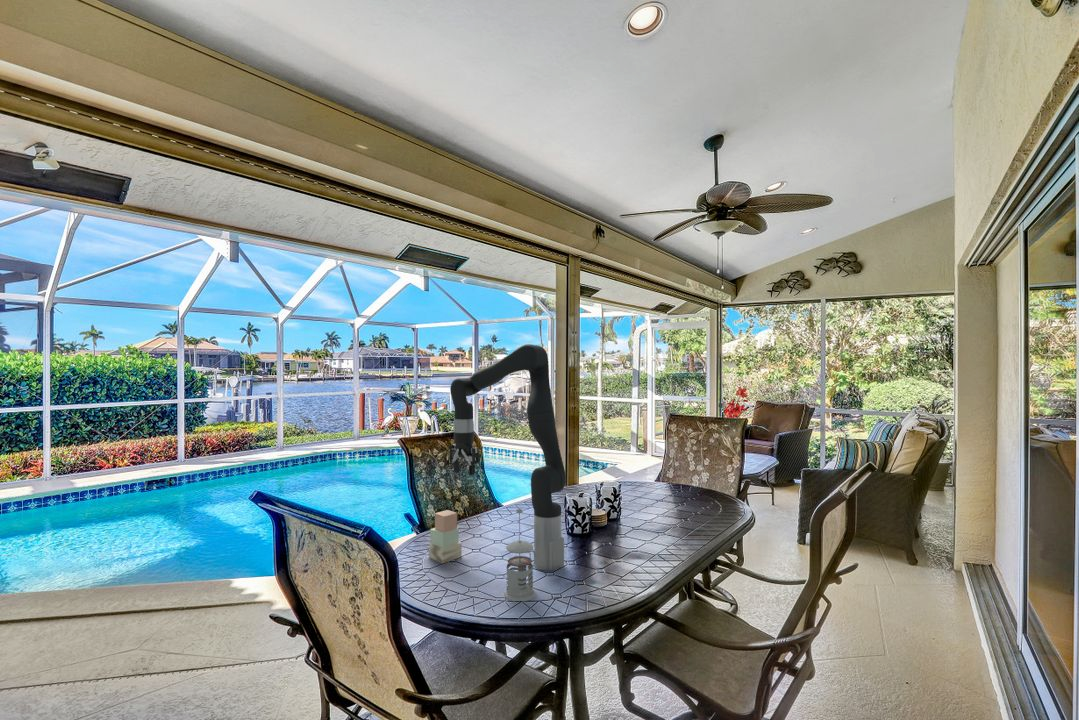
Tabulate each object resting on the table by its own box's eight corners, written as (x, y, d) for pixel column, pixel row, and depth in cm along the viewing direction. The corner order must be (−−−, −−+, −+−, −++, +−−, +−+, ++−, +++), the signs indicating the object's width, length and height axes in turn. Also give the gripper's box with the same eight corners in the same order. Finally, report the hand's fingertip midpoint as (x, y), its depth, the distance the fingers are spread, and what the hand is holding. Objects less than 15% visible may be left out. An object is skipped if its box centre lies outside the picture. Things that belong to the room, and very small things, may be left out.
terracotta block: (457, 528, 172) (457, 512, 173) (444, 532, 168) (444, 516, 169) (447, 525, 176) (447, 509, 176) (434, 528, 172) (434, 513, 172)
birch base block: (461, 556, 172) (461, 542, 172) (443, 563, 166) (443, 549, 166) (447, 551, 178) (447, 537, 178) (429, 557, 172) (429, 543, 172)
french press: (496, 596, 143) (495, 510, 143) (519, 581, 152) (519, 500, 152) (523, 605, 137) (523, 515, 137) (546, 589, 147) (545, 505, 147)
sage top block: (458, 542, 173) (458, 528, 173) (443, 548, 167) (443, 533, 167) (445, 538, 177) (445, 524, 177) (430, 543, 172) (430, 529, 172)
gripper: (484, 431, 183) (484, 474, 183) (459, 428, 192) (459, 469, 192) (469, 433, 177) (469, 478, 177) (444, 430, 187) (444, 472, 186)
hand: (464, 473), depth 185 cm, fingers open, 8 cm apart
